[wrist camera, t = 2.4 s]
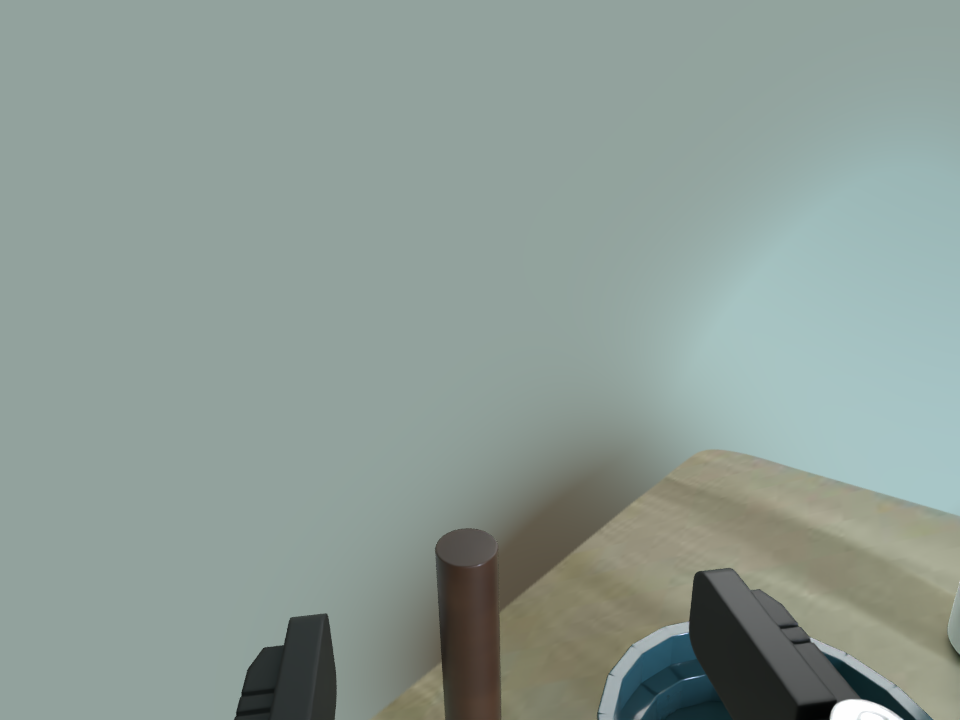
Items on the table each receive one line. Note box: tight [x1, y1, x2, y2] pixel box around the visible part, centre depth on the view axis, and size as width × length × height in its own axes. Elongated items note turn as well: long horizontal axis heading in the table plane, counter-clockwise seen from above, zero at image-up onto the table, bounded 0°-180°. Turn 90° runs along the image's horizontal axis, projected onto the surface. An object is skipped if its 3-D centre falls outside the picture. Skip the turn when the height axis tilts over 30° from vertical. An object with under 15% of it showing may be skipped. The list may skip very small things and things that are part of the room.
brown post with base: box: [435, 528, 501, 720], centre depth 29 cm, size 5×5×15 cm
